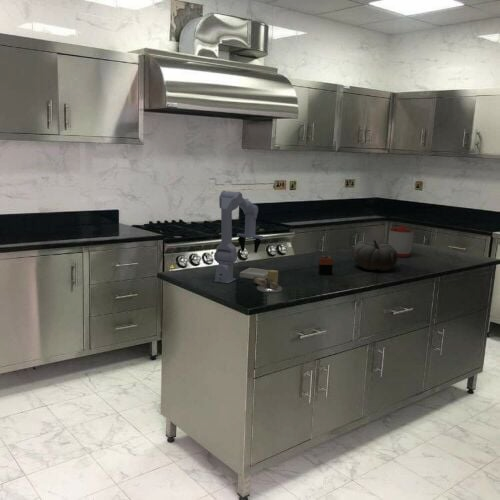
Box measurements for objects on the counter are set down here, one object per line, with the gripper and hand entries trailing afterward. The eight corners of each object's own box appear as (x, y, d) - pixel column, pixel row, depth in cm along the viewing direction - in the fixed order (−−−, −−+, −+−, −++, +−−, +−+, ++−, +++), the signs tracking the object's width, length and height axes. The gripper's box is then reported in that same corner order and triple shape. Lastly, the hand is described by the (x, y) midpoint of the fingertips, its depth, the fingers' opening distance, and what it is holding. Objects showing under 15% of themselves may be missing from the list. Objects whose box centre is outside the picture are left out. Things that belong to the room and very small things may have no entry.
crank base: (277, 293, 249) (277, 291, 249) (253, 290, 253) (253, 288, 253) (285, 287, 260) (285, 286, 260) (262, 284, 264) (262, 282, 264)
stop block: (274, 284, 266) (275, 272, 265) (267, 283, 268) (267, 271, 266) (277, 282, 270) (278, 270, 269) (270, 281, 271) (270, 269, 270)
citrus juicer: (419, 258, 344) (422, 226, 341) (394, 258, 340) (397, 226, 336) (406, 253, 359) (409, 223, 356) (382, 253, 355) (385, 223, 351)
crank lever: (278, 288, 254) (279, 281, 254) (274, 289, 252) (274, 282, 252) (256, 281, 265) (256, 274, 265) (251, 282, 263) (251, 275, 263)
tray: (263, 280, 272) (263, 275, 272) (239, 277, 277) (239, 272, 277) (272, 275, 284) (272, 270, 283) (249, 272, 289) (249, 267, 288)
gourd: (342, 259, 316) (350, 231, 312) (377, 265, 326) (386, 237, 322) (363, 274, 294) (372, 243, 290) (401, 279, 303) (410, 250, 299)
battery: (318, 273, 293) (319, 255, 291) (330, 273, 293) (331, 255, 291) (319, 275, 289) (320, 256, 287) (332, 275, 289) (333, 257, 287)
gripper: (265, 227, 290) (264, 252, 293) (241, 224, 296) (240, 249, 299) (260, 228, 284) (259, 254, 286) (235, 226, 290) (234, 251, 292)
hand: (249, 251), depth 292 cm, fingers open, 7 cm apart
